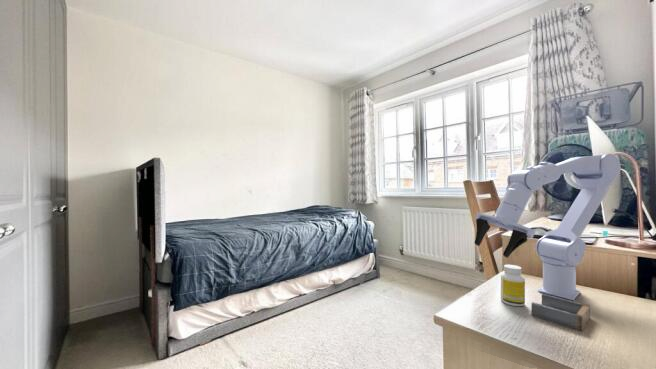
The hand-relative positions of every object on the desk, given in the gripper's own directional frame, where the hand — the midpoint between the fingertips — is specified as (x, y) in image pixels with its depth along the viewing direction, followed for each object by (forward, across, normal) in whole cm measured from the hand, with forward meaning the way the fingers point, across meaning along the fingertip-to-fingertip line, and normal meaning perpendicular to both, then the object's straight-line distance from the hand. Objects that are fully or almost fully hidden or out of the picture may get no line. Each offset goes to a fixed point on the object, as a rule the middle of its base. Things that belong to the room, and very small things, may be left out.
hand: (490, 250), depth 74 cm
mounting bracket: (+7, +17, +8) cm, 20 cm away
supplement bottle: (+10, +8, +8) cm, 15 cm away
